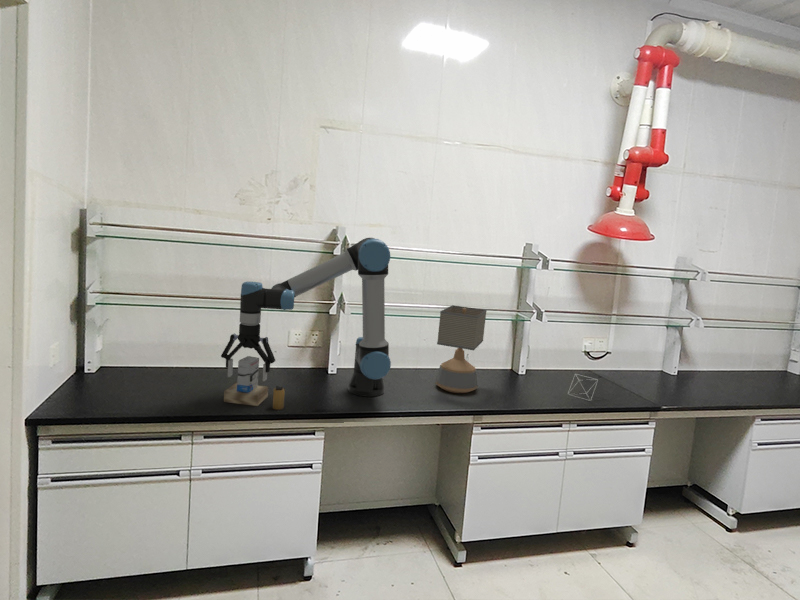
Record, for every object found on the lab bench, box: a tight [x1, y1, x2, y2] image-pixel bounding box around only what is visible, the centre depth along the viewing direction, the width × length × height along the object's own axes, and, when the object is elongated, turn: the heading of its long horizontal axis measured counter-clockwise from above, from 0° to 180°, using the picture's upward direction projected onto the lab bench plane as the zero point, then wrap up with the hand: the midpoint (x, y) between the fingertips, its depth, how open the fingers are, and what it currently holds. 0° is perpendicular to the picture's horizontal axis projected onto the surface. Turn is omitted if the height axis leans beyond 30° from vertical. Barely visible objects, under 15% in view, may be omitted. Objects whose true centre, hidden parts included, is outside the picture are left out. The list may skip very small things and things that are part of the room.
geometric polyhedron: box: [567, 373, 599, 402], centre depth 247 cm, size 12×11×9 cm
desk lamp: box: [435, 304, 487, 394], centre depth 239 cm, size 22×19×37 cm
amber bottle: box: [272, 384, 285, 410], centre depth 199 cm, size 4×4×8 cm
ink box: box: [236, 355, 260, 393], centre depth 203 cm, size 8×5×12 cm, turn 171°
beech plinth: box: [223, 382, 269, 407], centre depth 204 cm, size 13×11×4 cm
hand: (247, 378), depth 204 cm, fingers open, 13 cm apart
